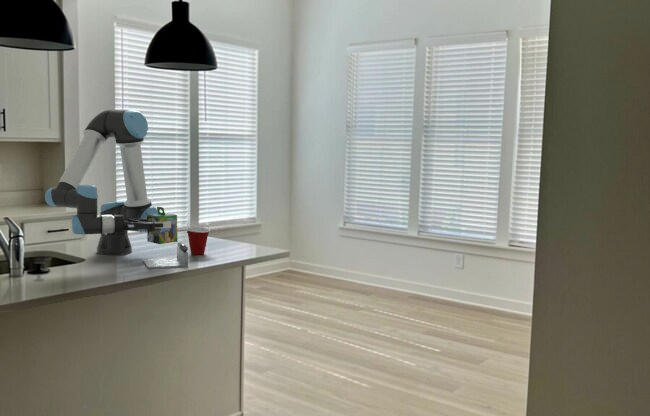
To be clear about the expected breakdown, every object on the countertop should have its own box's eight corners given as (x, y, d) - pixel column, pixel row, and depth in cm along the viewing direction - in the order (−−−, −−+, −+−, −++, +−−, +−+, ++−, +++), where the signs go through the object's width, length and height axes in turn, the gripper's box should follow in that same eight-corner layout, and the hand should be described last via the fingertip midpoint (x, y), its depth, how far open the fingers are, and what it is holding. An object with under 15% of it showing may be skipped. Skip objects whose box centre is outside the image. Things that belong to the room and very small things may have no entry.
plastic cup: (204, 257, 274) (204, 230, 273) (182, 255, 276) (182, 229, 275) (213, 253, 285) (213, 227, 283) (191, 251, 287) (192, 226, 285)
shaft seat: (142, 261, 261) (142, 242, 260) (181, 259, 267) (181, 240, 267) (148, 269, 246) (148, 249, 245) (189, 266, 253) (189, 247, 252)
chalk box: (178, 242, 255) (178, 207, 254) (158, 244, 249) (159, 208, 247) (165, 239, 262) (165, 205, 260) (146, 241, 255) (146, 206, 253)
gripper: (110, 229, 257) (163, 227, 266) (116, 237, 236) (173, 236, 245) (110, 211, 257) (163, 210, 266) (116, 218, 235) (173, 217, 244)
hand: (168, 222), depth 255 cm, fingers closed on chalk box, 11 cm apart
